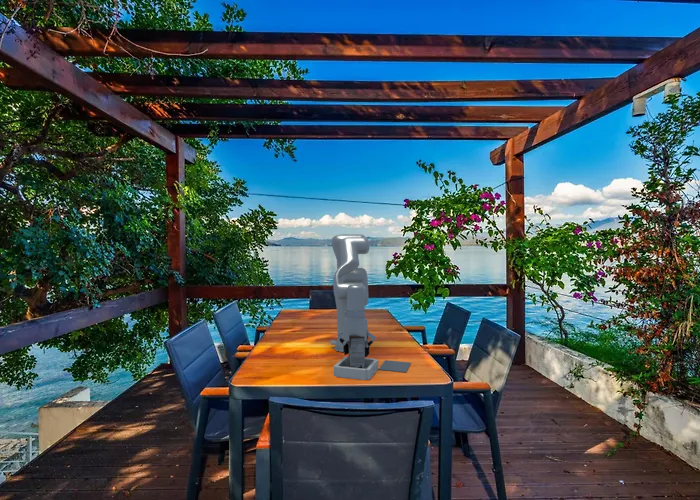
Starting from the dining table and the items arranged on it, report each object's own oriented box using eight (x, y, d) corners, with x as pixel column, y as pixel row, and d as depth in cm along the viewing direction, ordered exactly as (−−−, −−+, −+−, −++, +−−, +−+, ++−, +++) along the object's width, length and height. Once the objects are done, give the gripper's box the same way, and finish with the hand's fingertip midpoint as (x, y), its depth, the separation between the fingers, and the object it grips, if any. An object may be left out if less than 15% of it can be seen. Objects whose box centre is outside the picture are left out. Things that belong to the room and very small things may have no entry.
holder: (333, 376, 143) (333, 366, 143) (345, 365, 157) (345, 356, 157) (369, 380, 138) (368, 370, 138) (378, 368, 152) (378, 359, 152)
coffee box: (348, 368, 152) (347, 331, 152) (362, 368, 153) (362, 331, 153) (349, 376, 143) (349, 336, 143) (365, 375, 144) (365, 336, 144)
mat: (378, 370, 150) (378, 369, 150) (385, 361, 163) (385, 360, 163) (406, 372, 146) (406, 371, 146) (411, 363, 159) (411, 362, 159)
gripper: (333, 314, 147) (334, 356, 147) (373, 316, 142) (373, 359, 142) (339, 311, 154) (340, 351, 154) (378, 313, 149) (378, 354, 149)
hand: (356, 355), depth 148 cm, fingers closed on coffee box, 8 cm apart
